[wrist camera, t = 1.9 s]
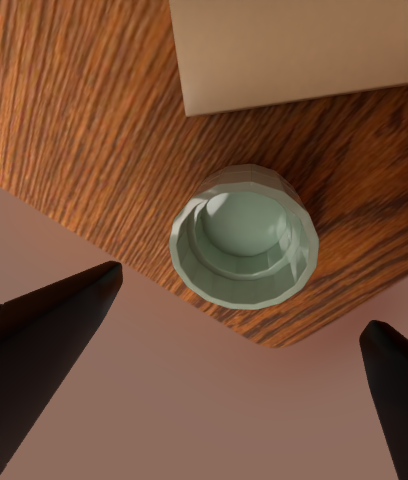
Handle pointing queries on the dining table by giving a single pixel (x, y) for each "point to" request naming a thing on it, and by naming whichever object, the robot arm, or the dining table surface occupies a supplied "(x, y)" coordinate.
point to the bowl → (244, 239)
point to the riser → (286, 50)
